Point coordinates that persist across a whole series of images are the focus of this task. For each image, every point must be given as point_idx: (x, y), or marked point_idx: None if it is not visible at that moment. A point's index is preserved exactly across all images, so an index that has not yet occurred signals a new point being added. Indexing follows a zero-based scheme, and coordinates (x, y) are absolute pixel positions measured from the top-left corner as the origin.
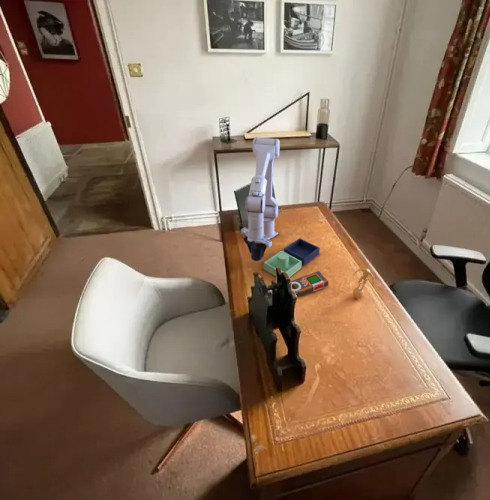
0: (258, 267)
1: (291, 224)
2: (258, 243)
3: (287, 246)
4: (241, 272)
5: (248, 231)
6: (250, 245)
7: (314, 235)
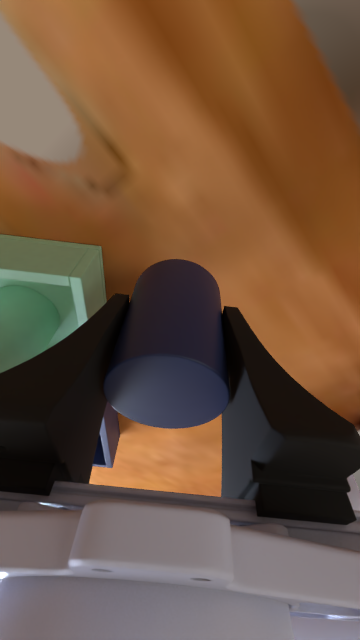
0: (142, 241)
1: (215, 480)
2: (173, 422)
3: (104, 428)
4: (213, 93)
5: (337, 614)
6: (237, 374)
7: (117, 470)
